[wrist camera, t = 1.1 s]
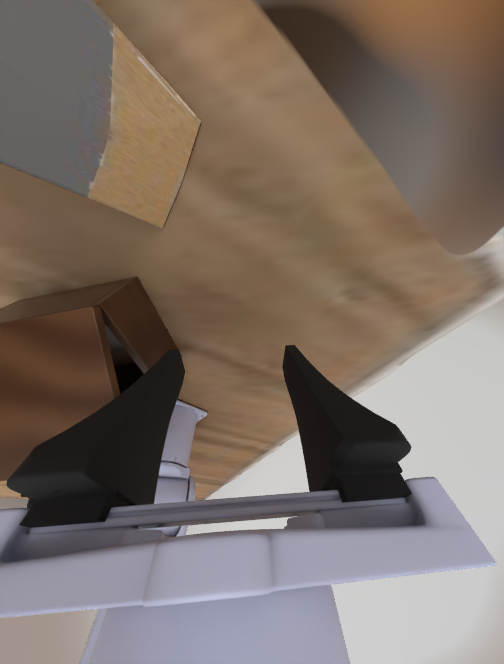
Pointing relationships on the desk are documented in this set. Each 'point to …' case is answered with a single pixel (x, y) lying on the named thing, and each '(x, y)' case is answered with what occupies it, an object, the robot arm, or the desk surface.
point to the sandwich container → (89, 109)
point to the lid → (50, 379)
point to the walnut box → (110, 323)
